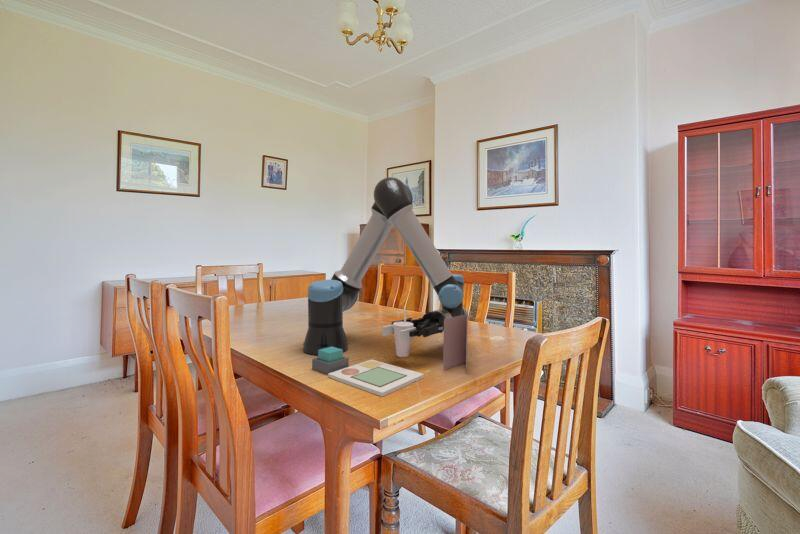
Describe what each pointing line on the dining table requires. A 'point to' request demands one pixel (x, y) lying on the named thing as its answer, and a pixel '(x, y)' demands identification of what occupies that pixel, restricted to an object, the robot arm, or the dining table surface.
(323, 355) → the button
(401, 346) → the smoothie
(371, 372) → the picture board
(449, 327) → the greeting card
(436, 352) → the dining table surface
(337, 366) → the button housing
